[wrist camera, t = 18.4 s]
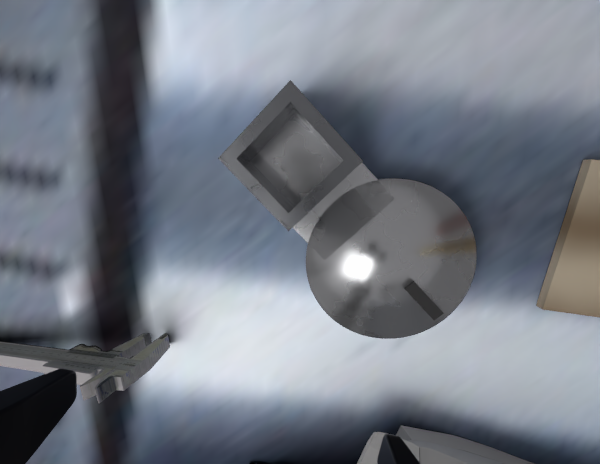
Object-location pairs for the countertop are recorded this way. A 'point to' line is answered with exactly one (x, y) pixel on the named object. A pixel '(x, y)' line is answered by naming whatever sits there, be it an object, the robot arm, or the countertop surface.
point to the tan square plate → (577, 251)
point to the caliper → (90, 362)
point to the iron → (439, 449)
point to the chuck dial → (356, 223)
